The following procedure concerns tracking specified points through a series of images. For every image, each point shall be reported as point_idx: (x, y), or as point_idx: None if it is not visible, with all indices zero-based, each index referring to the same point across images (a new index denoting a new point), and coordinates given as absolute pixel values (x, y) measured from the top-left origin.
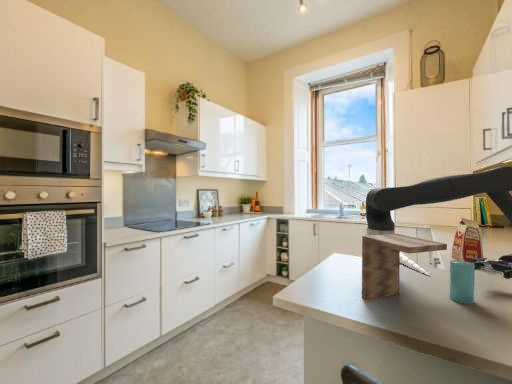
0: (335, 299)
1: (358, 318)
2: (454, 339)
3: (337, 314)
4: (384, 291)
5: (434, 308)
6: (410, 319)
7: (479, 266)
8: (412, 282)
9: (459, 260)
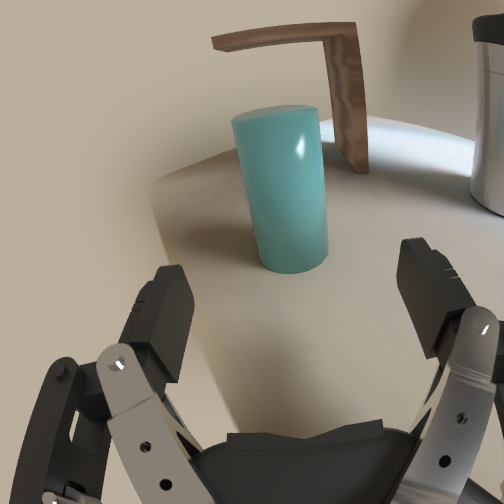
0: None
1: None
2: (196, 171)
3: None
4: (344, 147)
5: None
6: None
7: (428, 327)
8: (450, 225)
9: (306, 114)
